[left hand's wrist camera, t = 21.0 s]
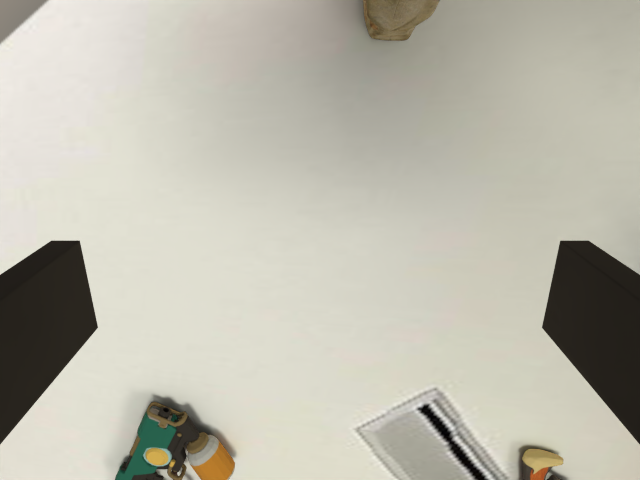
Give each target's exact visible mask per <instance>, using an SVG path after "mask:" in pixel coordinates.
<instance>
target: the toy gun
mask: <svg viewBox="0 0 640 480" xmlns="http://www.w3.org/2000/svg"><path fill="white" fill-rule="evenodd" d="M522 460H523V468H522V474H523V480H545V477H546V474H547V473H548V471H549V470H550V469H551V468H552V467H553V466H558V465H562V464H563V458H562V457H560V456H559V455H556V454H554V453H551V452H548V451H544V450H540V449H528V450H527V451H526V452H525V453H524V455H523V457H522ZM547 480H561V479H559V478H558V477H556V476H555V475H551V476H550V477H549V478H548V479H547Z"/></svg>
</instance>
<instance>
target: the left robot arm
mask: <svg viewBox="0 0 640 480" xmlns="http://www.w3.org/2000/svg"><path fill="white" fill-rule="evenodd" d="M97 328H98V326H97V321H96V317H95V312H94V307H93V302H92V297H91V293H90V288H89V283H88V278H87V274H86V269H85V264H84V259H83V255H82V250H81V245H80V241H50V242H49V243H47V244H46V245H44V246H43V247H41V248H40V249H38V250H37V251H35V252H34V253H32V254H31V255H29V256H28V257H26V258H25V259H23V260H22V261H20V262H19V263H17V264H16V265H14V266H13V267H11V268H10V269H8V270H7V271H5V272H4V273H2V274H1V275H0V444H1V443H2V442H3V440H4V439H5V438H6V437H7V436H8V434H9V433H10V432H11V431H12V430H13V428H14V427H15V426H16V425H17V424H18V422H19V421H20V420H21V419H22V418H23V416H24V415H25V414H26V413H27V412H28V410H29V409H30V408H31V407H32V406H33V404H34V403H35V402H36V401H37V400H38V399H39V397H40V396H41V395H42V394H43V393H44V391H45V390H46V389H47V388H48V387H49V385H50V384H51V383H52V382H53V381H54V379H55V378H56V377H57V376H58V375H59V373H60V372H61V371H62V370H63V369H64V367H65V366H66V365H67V364H68V363H69V361H70V360H71V359H72V358H73V357H74V355H75V354H76V353H77V352H78V351H79V349H80V348H81V347H82V346H83V345H84V343H85V342H86V341H87V340H88V339H89V338H90V336H91V335H92V334H93V333H94V332H95V330H96V329H97ZM542 328H543V329H544V330H545V332H546V333H547V334H548V335H549V336H550V338H551V339H552V340H553V341H554V342H555V343H556V345H557V346H558V347H559V348H560V349H561V351H562V352H563V353H564V354H565V355H566V357H567V358H568V359H569V360H570V361H571V363H572V364H573V365H574V366H575V367H576V369H577V370H578V371H579V372H580V373H581V375H582V376H583V377H584V378H585V379H586V381H587V382H588V383H589V384H590V385H591V387H592V388H593V389H594V390H595V391H596V393H597V394H598V395H599V396H600V397H601V399H602V400H603V401H604V402H605V403H606V404H607V406H608V407H609V408H610V409H611V410H612V412H613V413H614V414H615V415H616V416H617V418H618V419H619V420H620V421H621V422H622V424H623V425H624V426H625V427H626V428H627V430H628V431H629V432H630V433H631V434H632V436H633V437H634V438H635V439H636V440H637V442H638V443H639V444H640V275H639V274H638V273H636V272H635V271H633V270H632V269H630V268H629V267H627V266H626V265H624V264H623V263H621V262H620V261H618V260H617V259H615V258H614V257H612V256H611V255H609V254H608V253H606V252H605V251H603V250H602V249H600V248H599V247H597V246H596V245H594V244H593V243H591V242H590V241H560V245H559V250H558V255H557V259H556V264H555V269H554V274H553V278H552V283H551V288H550V293H549V297H548V302H547V307H546V312H545V317H544V321H543V326H542Z"/></svg>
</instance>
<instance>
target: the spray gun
mask: <svg viewBox="0 0 640 480" xmlns="http://www.w3.org/2000/svg"><path fill="white" fill-rule="evenodd" d="M152 406H157V407H159V408H161V409H160V410H158V409H155V408H151V407H152ZM150 408H151V409H150ZM172 413H173V414H176V415H178V416H181V417H180V418H179V419H177V417H176V415H173V416H171V415H172ZM182 415H183V416H182ZM186 442H188V444H187V451H188V456H187V455H186V453H185V450H184V447H183V446H184V444H185V443H186ZM186 456H187V457H188V460H189V463H190V465H191V466H192V468H193V469H194V470H195V472H196V473H197V474H198V476H199V477H200V479H201V480H229V478H230V477H231V476H232V474H233V472H234V469H235V462H234V460H233V459H232V457H231V456H230V455H229V453H228V452H227V451H226V449H225V448H224V447H223V445H222V444H221V443H220V441H219V440H218V439H217V438H216V437H214V436H212V435H207V433H205V432H201V433H199V432H198V431H197V429H196V427H195V426H194V424H193V423H192V421H191V420H190V418H189V416H188V415H187V413H186V412H185V411H184V412H178V411H176V410H173V409H171V408H169V407H166V406H164V405H162V404H159V403H157V402H152V403H151V404H150V405H149V407H148V409H147V411H146V413H145V415H144V417H143V419H142V421H141V424H140V426H139V428H138V436H137V438H136V440H135V442H134V445H133V447H132V449H131V451H130V457H129V459H128V461H127V462H124V463H123V464H122V465H121V467H120V469H119V471H118V473H117V475H116V478H115V480H162V479H163V478H164V477H163V476H160V475H158V474H157V473H156V472H155V471H156V469H168V471H167V473H168V475H169V476H170V477H171V478H172V479H173V480H181V479H182V478H183V476H184V475H185V472H186V466H185V464H183V463H184V461H185V459H186ZM181 467H182V472H181V474H180V476H178V475H177V472H179V470H180V468H181ZM171 470H172V472H171Z"/></svg>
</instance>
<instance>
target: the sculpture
mask: <svg viewBox="0 0 640 480" xmlns="http://www.w3.org/2000/svg"><path fill="white" fill-rule="evenodd" d="M439 1H440V0H363V5H364V17H365V22H366V26H367V29H368V33H369V35H370V37H371V38H374V39H380V40H407V39H408V38H409V37H410V35H411V33H412V31H413V30H414V28H415V26H416V25H418V24H419V23H421V22H423V21H424V20H426V19H427V18H429V17H430V16H431V15H432V14H433V12H434V10H435V9H436V7H437V5H438V3H439Z"/></svg>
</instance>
